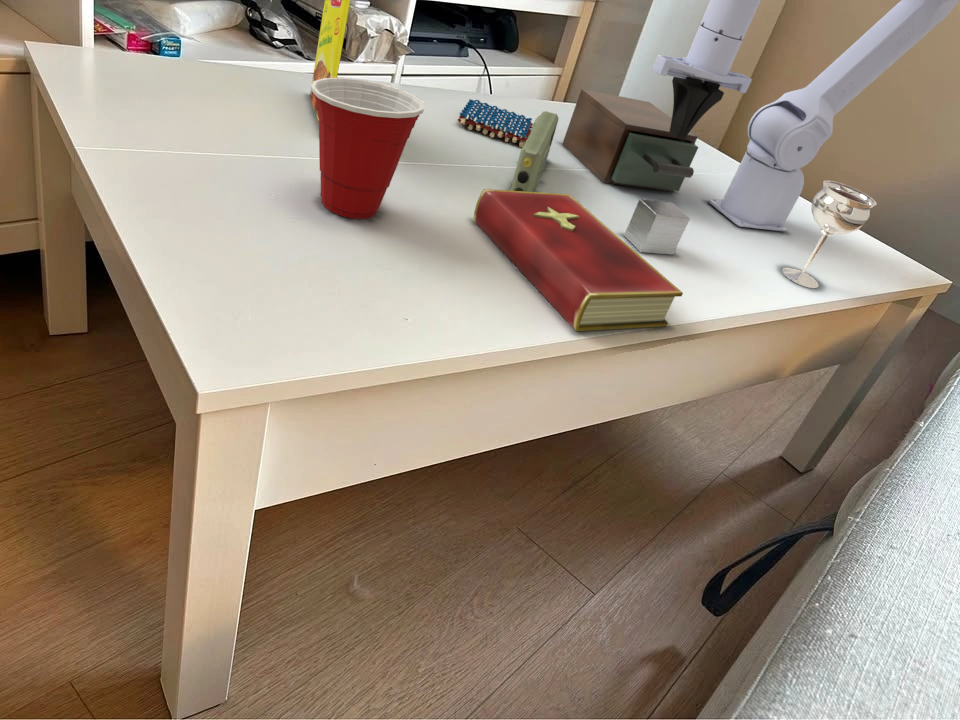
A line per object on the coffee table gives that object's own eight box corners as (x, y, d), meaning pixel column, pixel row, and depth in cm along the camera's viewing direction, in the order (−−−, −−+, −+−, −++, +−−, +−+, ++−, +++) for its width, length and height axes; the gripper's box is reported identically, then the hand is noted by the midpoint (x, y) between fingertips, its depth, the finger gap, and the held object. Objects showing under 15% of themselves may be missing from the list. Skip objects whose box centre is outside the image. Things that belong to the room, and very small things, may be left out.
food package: (306, 94, 103) (331, -69, 92) (314, 96, 103) (340, -66, 92) (321, 139, 91) (352, -42, 81) (330, 140, 92) (362, -39, 81)
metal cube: (656, 238, 96) (672, 202, 93) (673, 255, 93) (690, 218, 90) (623, 235, 93) (639, 198, 91) (640, 252, 90) (656, 214, 88)
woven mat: (525, 150, 110) (529, 136, 109) (455, 126, 110) (458, 112, 108) (532, 130, 119) (536, 117, 117) (467, 108, 118) (470, 95, 117)
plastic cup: (340, 174, 84) (360, 65, 78) (418, 216, 81) (446, 106, 75) (270, 193, 76) (287, 73, 69) (355, 241, 73) (380, 119, 66)
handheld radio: (549, 161, 109) (522, 223, 87) (526, 155, 109) (495, 215, 88) (562, 115, 105) (538, 168, 84) (539, 108, 105) (510, 159, 84)
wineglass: (766, 268, 98) (814, 182, 91) (787, 261, 102) (834, 178, 96) (813, 296, 95) (866, 208, 88) (833, 286, 99) (884, 203, 93)
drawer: (695, 204, 108) (716, 159, 104) (630, 196, 103) (650, 149, 99) (636, 155, 120) (653, 113, 116) (575, 146, 115) (591, 102, 111)
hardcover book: (572, 331, 70) (588, 292, 68) (471, 221, 84) (481, 186, 82) (666, 326, 76) (684, 290, 74) (557, 224, 90) (569, 191, 88)
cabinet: (673, 192, 113) (698, 136, 109) (603, 182, 108) (626, 124, 103) (628, 154, 123) (649, 101, 118) (562, 143, 117) (581, 88, 113)
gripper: (745, 33, 102) (701, 131, 109) (659, 11, 95) (619, 116, 103) (778, 50, 97) (730, 151, 104) (690, 27, 90) (645, 137, 98)
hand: (676, 135), depth 103 cm, fingers closed
